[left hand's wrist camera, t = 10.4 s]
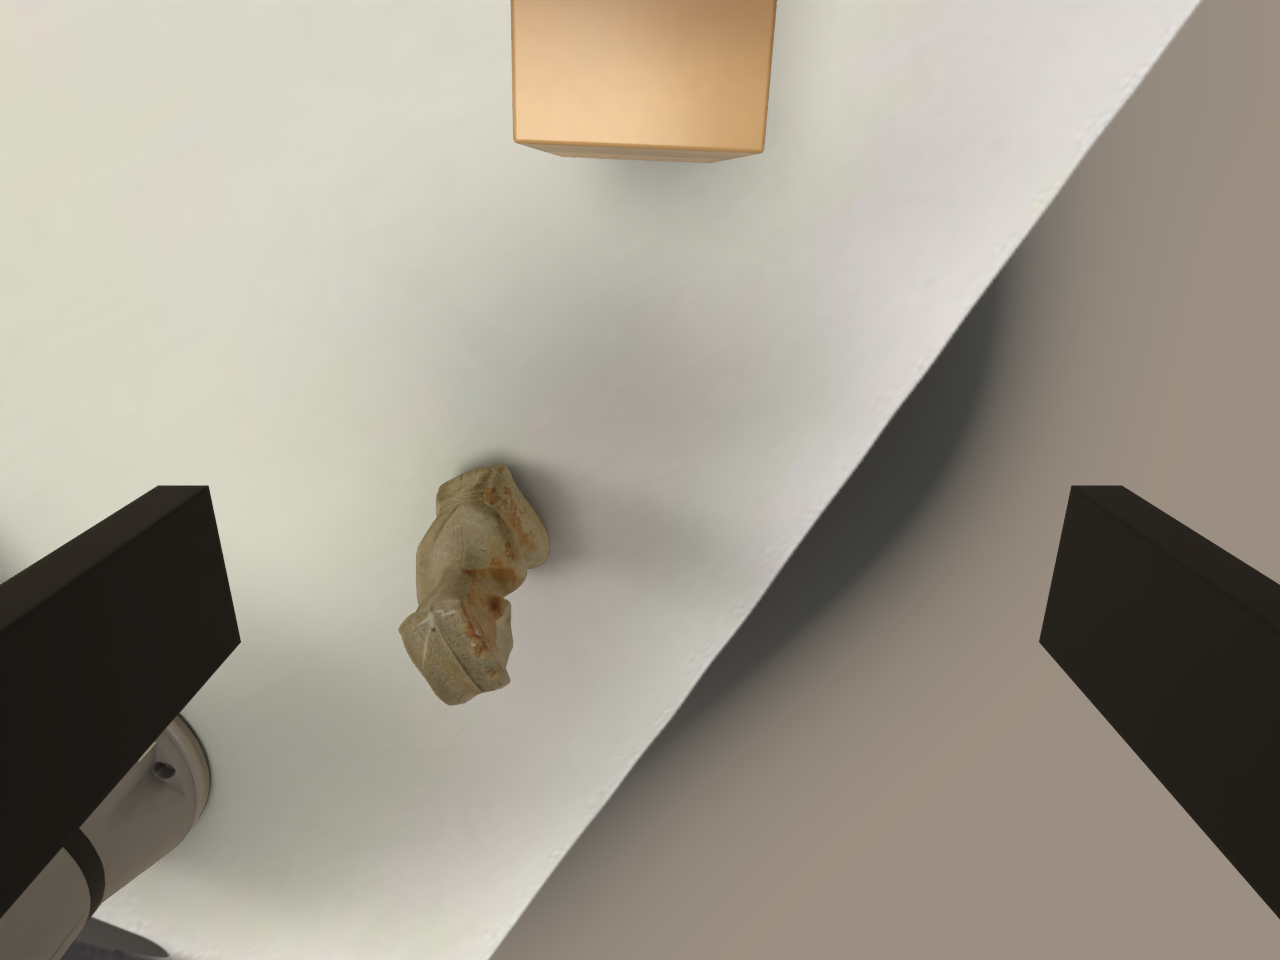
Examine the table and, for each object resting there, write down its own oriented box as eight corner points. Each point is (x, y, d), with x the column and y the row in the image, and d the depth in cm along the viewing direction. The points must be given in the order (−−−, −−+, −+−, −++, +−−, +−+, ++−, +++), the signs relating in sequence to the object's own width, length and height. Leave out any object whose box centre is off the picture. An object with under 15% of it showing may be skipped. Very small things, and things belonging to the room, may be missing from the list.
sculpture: (480, 574, 49) (416, 731, 35) (431, 472, 47) (341, 596, 33) (567, 546, 48) (537, 694, 34) (522, 440, 46) (470, 554, 32)
